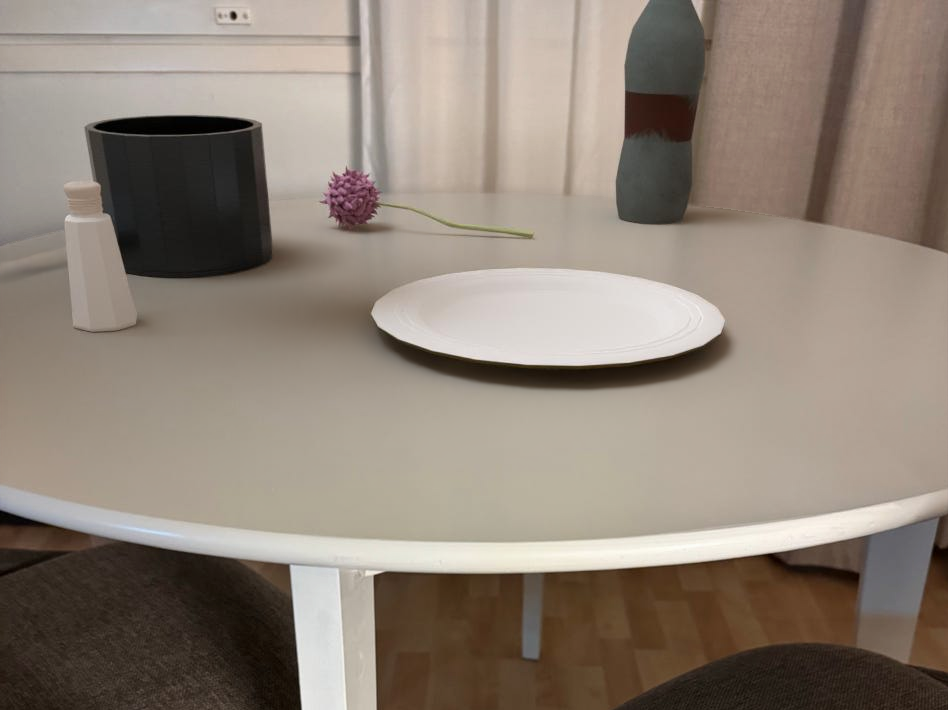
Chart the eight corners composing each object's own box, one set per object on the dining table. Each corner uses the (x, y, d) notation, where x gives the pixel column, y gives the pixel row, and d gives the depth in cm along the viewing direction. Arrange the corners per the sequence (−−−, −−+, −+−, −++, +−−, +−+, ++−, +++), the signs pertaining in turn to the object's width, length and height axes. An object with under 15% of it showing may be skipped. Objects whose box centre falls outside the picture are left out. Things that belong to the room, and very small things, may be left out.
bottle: (654, 228, 126) (684, -78, 110) (597, 216, 131) (617, -76, 115) (703, 218, 131) (738, -75, 115) (646, 207, 137) (671, -73, 121)
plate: (620, 277, 105) (621, 257, 104) (795, 365, 82) (799, 340, 81) (332, 302, 96) (331, 280, 95) (439, 408, 73) (439, 381, 72)
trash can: (72, 264, 107) (47, 127, 100) (185, 234, 119) (169, 111, 113) (199, 285, 100) (181, 141, 94) (305, 252, 113) (295, 122, 106)
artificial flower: (533, 254, 125) (328, 211, 127) (543, 194, 121) (330, 151, 122) (524, 277, 120) (311, 232, 122) (534, 216, 116) (312, 170, 117)
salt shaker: (122, 334, 87) (97, 190, 81) (60, 330, 88) (31, 187, 82) (149, 316, 91) (128, 178, 86) (90, 312, 92) (65, 176, 86)
